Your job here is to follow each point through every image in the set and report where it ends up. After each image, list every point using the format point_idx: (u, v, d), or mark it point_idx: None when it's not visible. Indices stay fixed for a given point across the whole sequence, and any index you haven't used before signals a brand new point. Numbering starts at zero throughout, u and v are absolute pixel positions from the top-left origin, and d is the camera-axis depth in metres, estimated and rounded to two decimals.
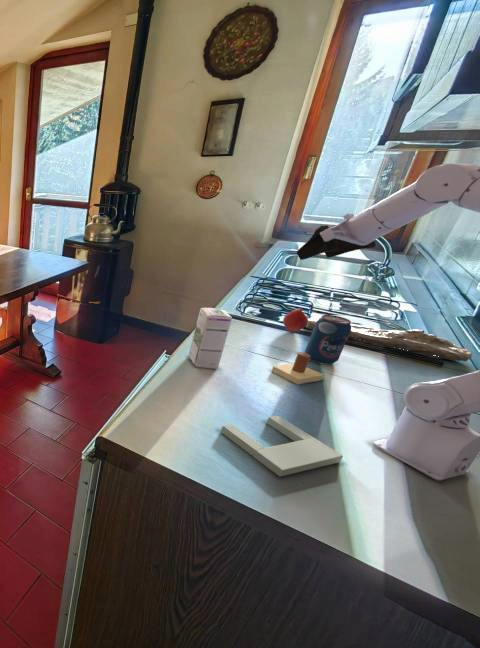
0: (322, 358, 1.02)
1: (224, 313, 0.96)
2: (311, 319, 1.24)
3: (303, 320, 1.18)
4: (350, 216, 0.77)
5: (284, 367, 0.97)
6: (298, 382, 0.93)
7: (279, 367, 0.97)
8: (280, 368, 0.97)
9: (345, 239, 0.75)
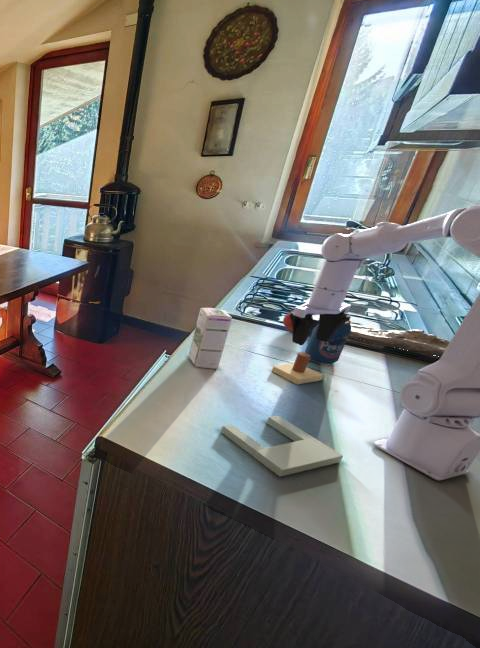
0: (322, 358, 1.02)
1: (224, 313, 0.96)
2: None
3: None
4: (308, 301, 0.93)
5: (284, 367, 0.97)
6: (298, 382, 0.93)
7: (279, 367, 0.97)
8: (280, 368, 0.97)
9: (316, 311, 0.87)
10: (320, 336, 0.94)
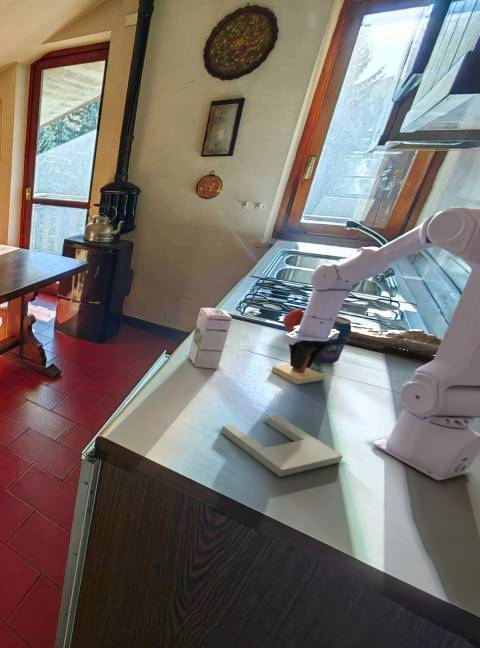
0: (322, 358, 1.02)
1: (224, 313, 0.96)
2: None
3: None
4: (298, 327, 0.95)
5: (284, 367, 0.97)
6: (298, 382, 0.93)
7: (279, 367, 0.97)
8: (280, 368, 0.97)
9: (305, 338, 0.90)
10: None
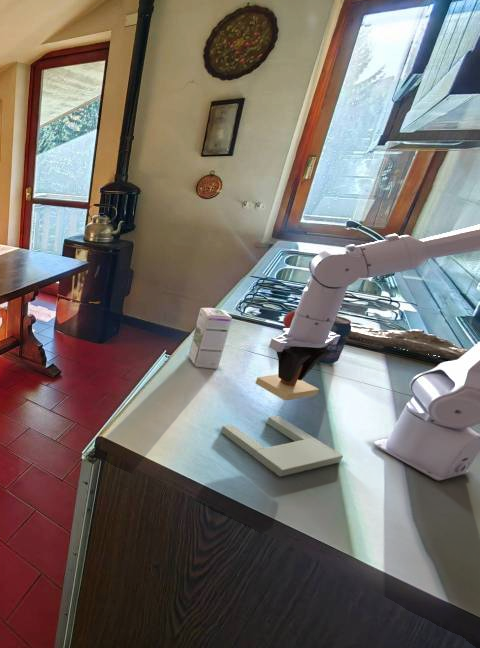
0: None
1: (224, 313, 0.96)
2: None
3: None
4: (288, 330, 0.77)
5: (270, 379, 0.79)
6: (287, 398, 0.74)
7: (264, 379, 0.79)
8: (265, 380, 0.79)
9: (296, 344, 0.71)
10: None
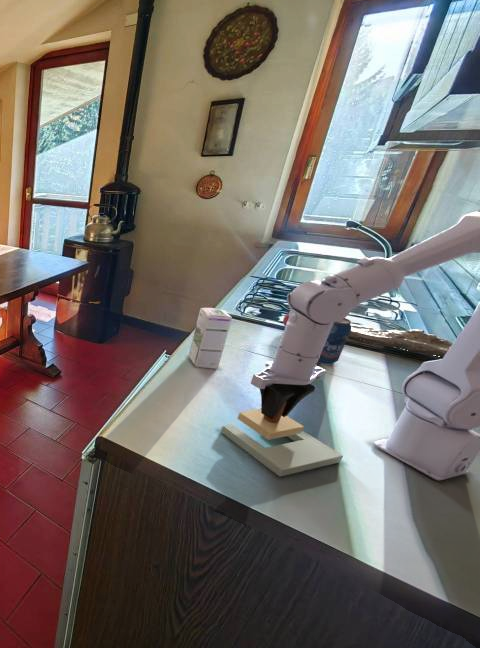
0: (322, 358, 1.02)
1: (224, 313, 0.96)
2: None
3: None
4: (271, 363, 0.72)
5: (253, 415, 0.74)
6: (270, 437, 0.70)
7: (246, 415, 0.74)
8: (248, 416, 0.74)
9: (279, 381, 0.67)
10: None
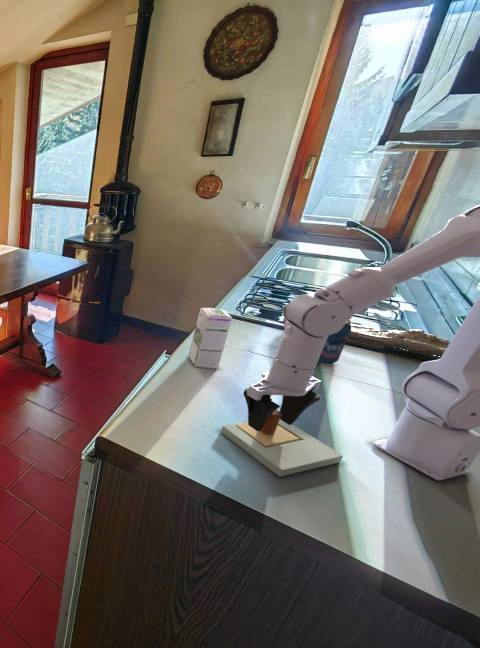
0: (322, 358, 1.02)
1: (224, 313, 0.96)
2: None
3: None
4: (268, 374, 0.73)
5: (249, 426, 0.76)
6: None
7: (242, 426, 0.76)
8: (244, 427, 0.75)
9: (275, 393, 0.68)
10: (284, 417, 0.74)
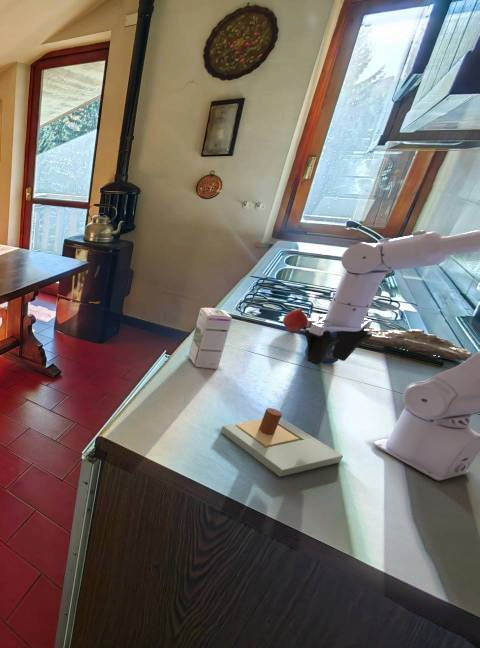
0: None
1: (224, 313, 0.96)
2: (311, 319, 1.24)
3: (303, 320, 1.18)
4: (325, 316, 0.84)
5: (249, 426, 0.76)
6: None
7: (242, 426, 0.76)
8: (244, 427, 0.75)
9: (335, 328, 0.78)
10: (337, 354, 0.85)
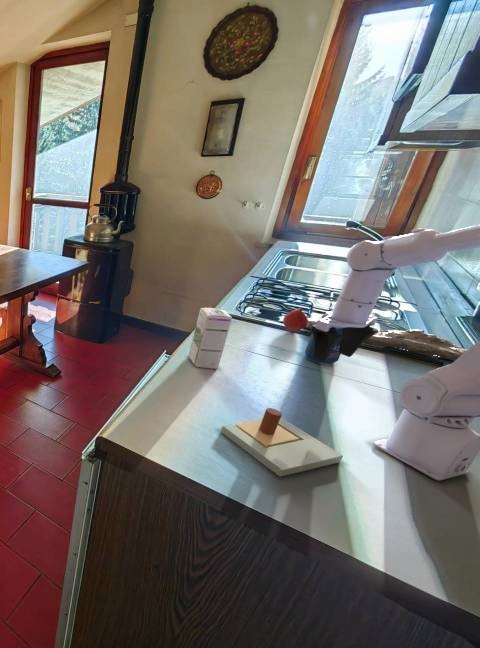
0: None
1: (224, 313, 0.96)
2: (311, 319, 1.24)
3: (303, 320, 1.18)
4: (331, 313, 0.86)
5: (249, 426, 0.76)
6: None
7: (242, 426, 0.76)
8: (244, 427, 0.75)
9: (341, 325, 0.80)
10: (343, 350, 0.87)
